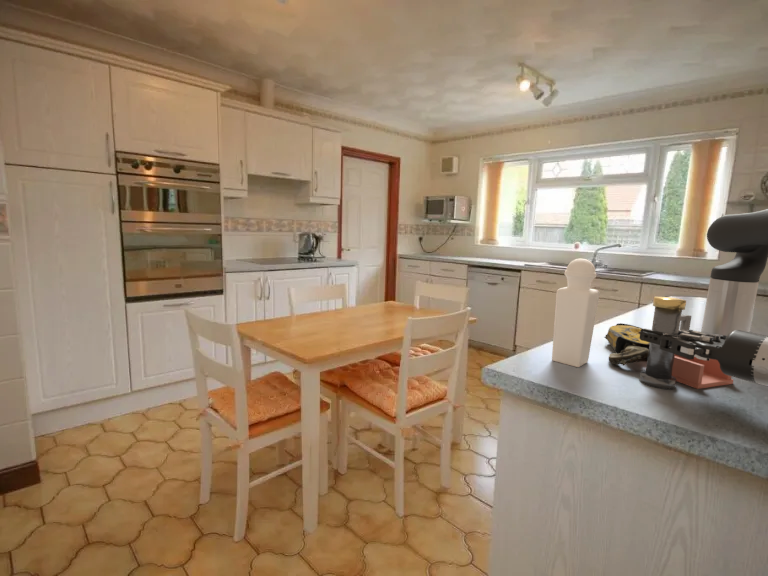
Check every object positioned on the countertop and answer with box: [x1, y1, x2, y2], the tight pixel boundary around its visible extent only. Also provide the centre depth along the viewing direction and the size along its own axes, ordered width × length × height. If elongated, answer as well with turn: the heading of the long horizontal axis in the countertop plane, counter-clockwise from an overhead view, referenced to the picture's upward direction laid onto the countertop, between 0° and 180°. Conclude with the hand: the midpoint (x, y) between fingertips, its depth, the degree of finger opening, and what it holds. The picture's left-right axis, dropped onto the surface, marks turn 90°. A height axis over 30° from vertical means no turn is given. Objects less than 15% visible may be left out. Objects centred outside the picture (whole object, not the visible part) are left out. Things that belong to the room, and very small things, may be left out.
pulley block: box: [603, 322, 650, 366], centre depth 92 cm, size 14×6×30 cm
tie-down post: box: [638, 296, 687, 390], centre depth 73 cm, size 6×6×16 cm
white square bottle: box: [551, 257, 600, 368], centre depth 83 cm, size 6×6×22 cm
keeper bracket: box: [672, 314, 734, 390], centre depth 79 cm, size 11×11×11 cm
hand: (648, 332), depth 76 cm, fingers closed on tie-down post, 4 cm apart
